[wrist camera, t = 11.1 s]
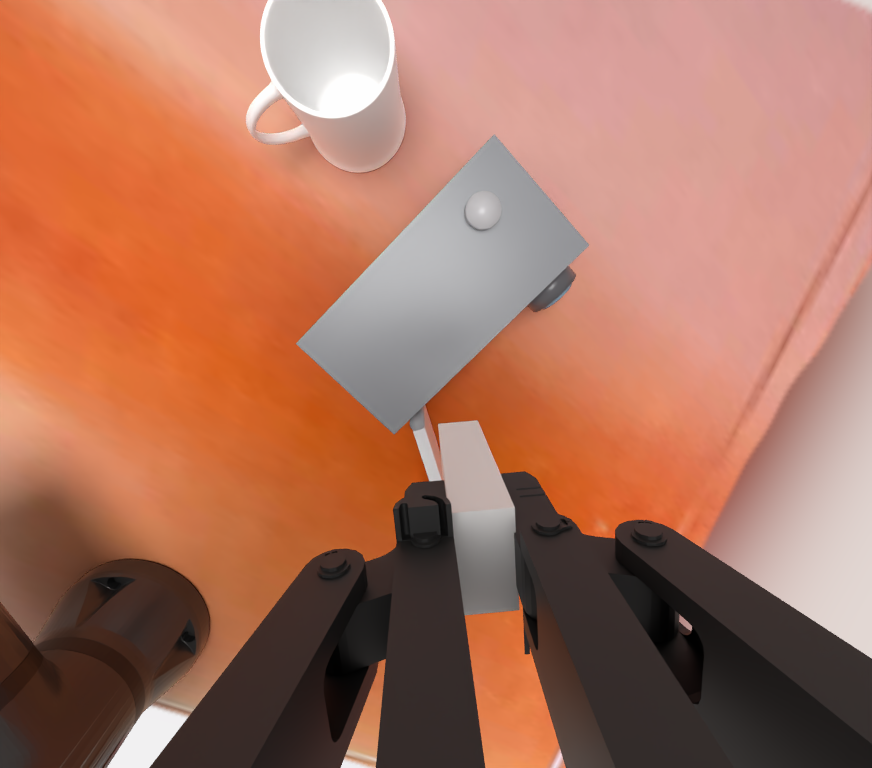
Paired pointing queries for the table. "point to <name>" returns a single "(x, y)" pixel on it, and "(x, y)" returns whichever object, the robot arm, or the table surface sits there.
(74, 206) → the table surface
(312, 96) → the mug
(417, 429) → the door
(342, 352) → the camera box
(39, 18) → the table surface
